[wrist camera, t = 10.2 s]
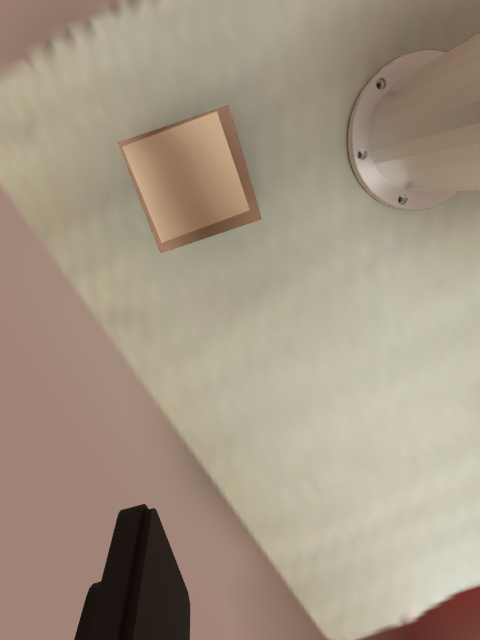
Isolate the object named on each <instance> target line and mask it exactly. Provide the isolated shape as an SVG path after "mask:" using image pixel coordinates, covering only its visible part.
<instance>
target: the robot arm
mask: <svg viewBox="0 0 480 640" xmlns="http://www.w3.org/2000/svg"><path fill="white" fill-rule="evenodd" d="M376 84H379V89H378V88H377V86H376ZM348 151H349V157H350V162H351V165H352V168H353V171H354V173H355V176H356V177H357V179H358V180H359V182H360V184H361V185H362V187H363V188H364V189H365V190H366V191H367V192H368V193H369V194H370V195H371V196H372V197H373V198H375V199H376V200H378V201H379V202H381V203H383V204H385V205H387V206H390V207H392V208H398V209H403V210H420V209H427V208H431V207H434V206H437V205H439V204H442V203H443V202H445V201H447V200H449V199H451V198H452V197H454V196H455V195H456V194H457V193H459V192H460V191H470V190H480V33H479V34H477V35H476V36H474V37H472V38H471V39H469V40H467V41H465V42H464V43H462V44H460V45H459V46H457V47H455V48H454V49H452V50H450V51H448V52H445V51H440V50H420V51H415V52H411V53H408V54H406V55H403V56H401V57H399V58H397V59H395V60H393V61H392V62H391V63H389V64H388V65H386V66H385V67H383V68H382V69H381V70H380V71H379V72H378V73H377V74H375V75H374V76H373V77H372V79H371V80H370V81H369V82H368V84H367V85H366V86H365V87H364V89H363V90H362V92H361V94H360V96H359V98H358V99H357V101H356V103H355V106H354V109H353V112H352V115H351V118H350V123H349V129H348ZM358 152H359V153H360V154H361V157H360V158H358V157H357V153H358ZM399 197H400V202H398V198H399ZM74 640H190V601H189V596H188V591H187V588H186V586H185V583H184V581H183V578H182V575H181V573H180V570H179V568H178V565H177V562H176V560H175V557H174V555H173V552H172V549H171V547H170V544H169V542H168V539H167V537H166V534H165V531H164V529H163V526H162V524H161V521H160V518H159V516H158V513H157V511H156V509H155V508H153V509H148V507H147V506H146V505H145V504H142V505H139V506H135V507H131V508H128V509H124V510H121V511H120V512H119V514H118V517H117V521H116V525H115V529H114V533H113V537H112V541H111V545H110V549H109V553H108V557H107V561H106V565H105V569H104V573H103V577H102V581H101V582H98V583H94V584H93V585H92V586H91V587H90V588H89V591H88V594H87V596H86V600H85V603H84V607H83V611H82V614H81V618H80V621H79V625H78V628H77V632H76V636H75V639H74Z"/></svg>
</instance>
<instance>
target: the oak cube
mask: <svg viewBox="0 0 480 640" xmlns="http://www.w3.org/2000/svg"><path fill="white" fill-rule="evenodd" d="M122 148H123V150H124V153H125V155H126V158H127V160H128V163H129V165H130V167H131V170H132V172H133V175H134V177H135V180H136V182H137V184H138V187H139V189H140V192H141V194H142V197H143V199H144V201H145V204H146V206H147V209H148V211H149V214H150V216H151V218H152V221H153V223H154V226H155V228H156V231H157V233H158V235H159V238H160V240H161V243H163V242H166V241H168V240H171V239H174V238H176V237H179V236H182V235H184V234H187V233H190V232H192V231H195V230H198V229H201V228H203V227H206V226H209V225H211V224H214V223H217V222H219V221H222V220H225V219H227V218H230V217H233V216H235V215H238V214H241V213H244V212H246V211H249V210H250V209H249V206H248V203H247V200H246V197H245V194H244V191H243V188H242V185H241V182H240V179H239V176H238V173H237V170H236V167H235V164H234V161H233V158H232V155H231V152H230V149H229V146H228V143H227V140H226V137H225V134H224V131H223V128H222V125H221V122H220V119H219V116H218V113H217V111H216V112H214V113H211V114H208V115H206V116H203V117H200V118H198V119H195V120H192V121H190V122H187V123H184V124H182V125H179V126H176V127H174V128H171V129H168V130H166V131H163V132H160V133H158V134H155V135H152V136H150V137H147V138H144V139H141V140H139V141H136V142H133V143H131V144H128V145H125V146H123V147H122Z"/></svg>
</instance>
